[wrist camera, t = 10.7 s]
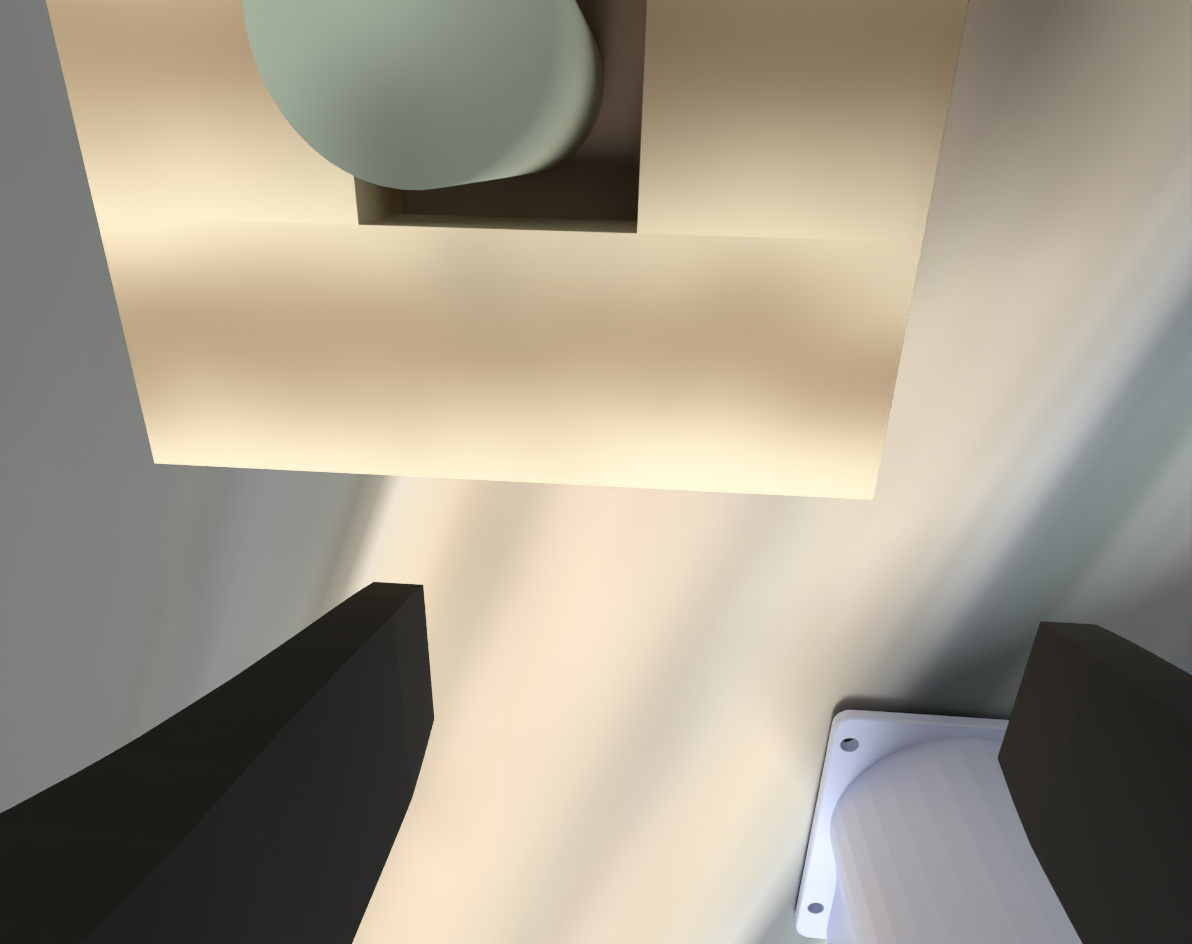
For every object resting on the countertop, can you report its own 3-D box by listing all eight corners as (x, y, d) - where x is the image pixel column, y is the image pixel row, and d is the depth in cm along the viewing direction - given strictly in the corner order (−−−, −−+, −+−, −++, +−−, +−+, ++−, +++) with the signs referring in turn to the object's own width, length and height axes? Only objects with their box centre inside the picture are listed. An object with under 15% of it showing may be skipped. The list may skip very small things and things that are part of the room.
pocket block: (840, 448, 19) (873, 499, 16) (224, 419, 19) (154, 463, 17) (990, -453, 12) (1089, -630, 9) (64, -433, 13) (-93, -589, 10)
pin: (606, 170, 16) (566, 184, 9) (445, 177, 16) (279, 195, 9) (599, -23, 15) (547, -199, 7) (424, -13, 15) (206, -171, 8)
